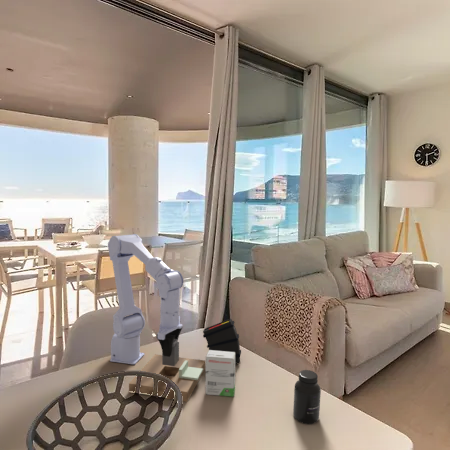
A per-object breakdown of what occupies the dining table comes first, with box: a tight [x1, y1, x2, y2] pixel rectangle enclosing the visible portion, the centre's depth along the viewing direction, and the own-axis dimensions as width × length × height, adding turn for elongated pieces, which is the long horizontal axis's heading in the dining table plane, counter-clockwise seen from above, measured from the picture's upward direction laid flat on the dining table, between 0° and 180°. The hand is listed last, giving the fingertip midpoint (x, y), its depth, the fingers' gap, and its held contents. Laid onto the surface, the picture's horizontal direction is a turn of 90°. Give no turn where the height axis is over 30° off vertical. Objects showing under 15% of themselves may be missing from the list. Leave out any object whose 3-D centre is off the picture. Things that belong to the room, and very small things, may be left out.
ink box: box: [205, 349, 236, 398], centre depth 104 cm, size 9×5×12 cm, turn 82°
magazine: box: [202, 318, 242, 364], centre depth 123 cm, size 4×13×15 cm, turn 81°
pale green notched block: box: [179, 360, 203, 380], centre depth 108 cm, size 6×6×3 cm
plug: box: [161, 339, 180, 366], centre depth 109 cm, size 4×4×7 cm
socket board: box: [128, 353, 206, 403], centre depth 110 cm, size 18×19×3 cm
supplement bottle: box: [292, 369, 322, 425], centre depth 93 cm, size 7×7×12 cm
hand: (169, 352), depth 109 cm, fingers closed on plug, 4 cm apart
